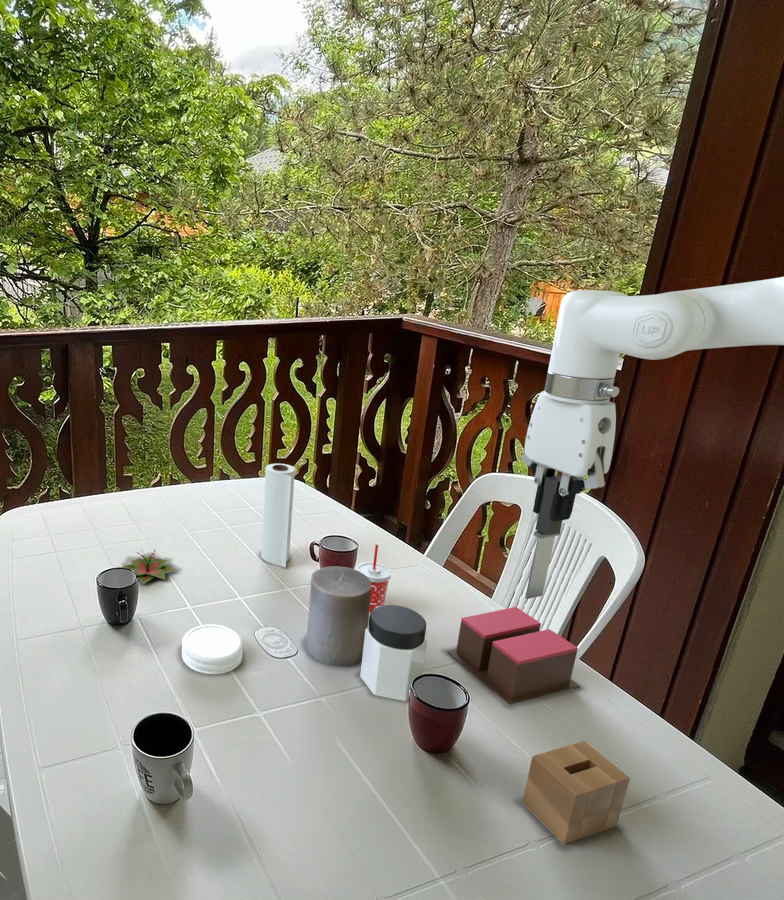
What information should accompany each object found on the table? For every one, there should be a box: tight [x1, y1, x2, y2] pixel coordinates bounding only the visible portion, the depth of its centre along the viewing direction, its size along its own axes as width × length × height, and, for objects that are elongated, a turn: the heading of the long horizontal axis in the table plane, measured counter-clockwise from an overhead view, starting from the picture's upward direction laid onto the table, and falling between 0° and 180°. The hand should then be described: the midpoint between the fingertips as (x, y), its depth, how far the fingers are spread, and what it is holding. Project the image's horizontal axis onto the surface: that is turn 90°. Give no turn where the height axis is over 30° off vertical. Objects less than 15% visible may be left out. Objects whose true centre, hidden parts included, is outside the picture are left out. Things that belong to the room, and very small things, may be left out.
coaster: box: [181, 624, 244, 675], centre depth 104 cm, size 10×10×4 cm
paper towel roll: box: [260, 463, 296, 568], centre depth 134 cm, size 7×6×21 cm
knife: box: [525, 474, 564, 600], centre depth 90 cm, size 4×2×19 cm, turn 109°
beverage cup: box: [356, 544, 392, 617], centre depth 116 cm, size 6×6×14 cm
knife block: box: [522, 740, 631, 845], centre depth 75 cm, size 8×6×8 cm
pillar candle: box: [306, 565, 372, 667], centre depth 105 cm, size 10×10×15 cm
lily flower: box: [120, 548, 177, 585], centre depth 132 cm, size 12×12×5 cm
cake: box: [446, 606, 581, 705], centre depth 101 cm, size 14×14×8 cm
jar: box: [359, 604, 428, 702], centre depth 97 cm, size 9×8×12 cm
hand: (551, 514), depth 89 cm, fingers closed on knife, 2 cm apart
